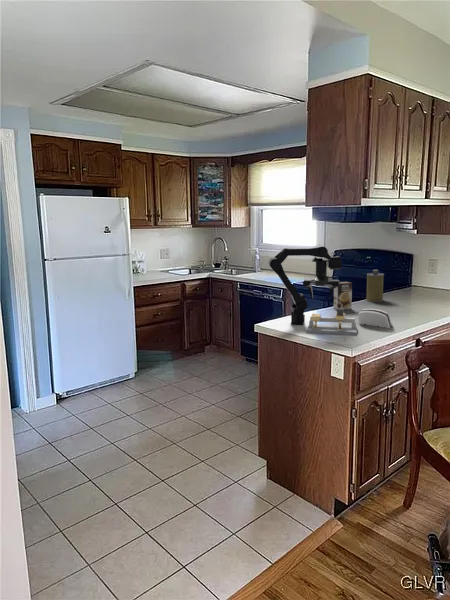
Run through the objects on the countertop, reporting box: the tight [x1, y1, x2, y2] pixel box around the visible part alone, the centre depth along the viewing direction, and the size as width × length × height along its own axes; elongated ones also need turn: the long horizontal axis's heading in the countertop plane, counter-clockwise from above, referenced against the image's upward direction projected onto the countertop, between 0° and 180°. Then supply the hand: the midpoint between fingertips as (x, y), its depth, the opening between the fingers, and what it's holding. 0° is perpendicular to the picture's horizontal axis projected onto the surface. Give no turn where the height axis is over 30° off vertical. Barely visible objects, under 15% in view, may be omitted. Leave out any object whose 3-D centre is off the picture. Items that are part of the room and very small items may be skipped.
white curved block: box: [358, 308, 393, 329], centre depth 234 cm, size 17×5×10 cm, turn 48°
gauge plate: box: [305, 313, 358, 336], centre depth 226 cm, size 24×12×8 cm, turn 73°
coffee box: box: [333, 281, 353, 310], centre depth 273 cm, size 9×6×16 cm
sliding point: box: [335, 308, 346, 328], centre depth 226 cm, size 4×6×9 cm, turn 163°
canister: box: [365, 269, 385, 303], centre depth 292 cm, size 11×10×20 cm
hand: (321, 298), depth 242 cm, fingers open, 9 cm apart
